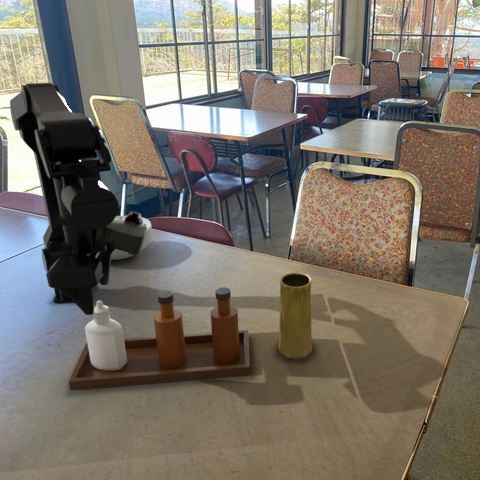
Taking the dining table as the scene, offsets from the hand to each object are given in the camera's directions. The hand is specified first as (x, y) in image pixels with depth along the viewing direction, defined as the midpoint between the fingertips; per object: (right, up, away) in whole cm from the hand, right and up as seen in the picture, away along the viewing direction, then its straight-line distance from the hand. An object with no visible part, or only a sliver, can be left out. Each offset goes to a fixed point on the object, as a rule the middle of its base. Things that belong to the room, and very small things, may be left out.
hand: (97, 298), depth 76 cm
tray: (+9, -12, +5) cm, 16 cm away
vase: (+31, -11, +9) cm, 34 cm away
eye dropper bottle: (0, -12, +3) cm, 12 cm away
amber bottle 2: (+19, -11, +6) cm, 23 cm away
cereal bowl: (-15, +6, +44) cm, 47 cm away
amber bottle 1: (+10, -11, +5) cm, 16 cm away
